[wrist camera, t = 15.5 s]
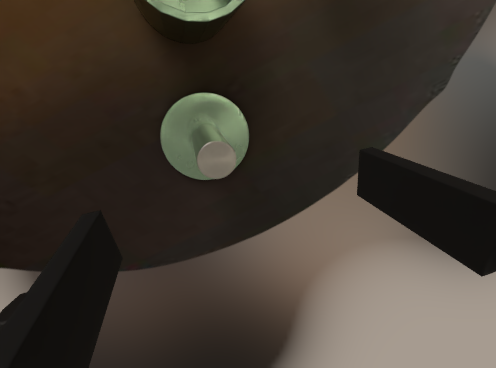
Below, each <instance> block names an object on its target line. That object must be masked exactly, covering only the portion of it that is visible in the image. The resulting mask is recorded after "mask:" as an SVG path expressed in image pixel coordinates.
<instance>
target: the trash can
mask: <svg viewBox="0 0 496 368" xmlns="http://www.w3.org/2000/svg"><path fill="white" fill-rule="evenodd" d="M134 2H135V3H136V5H137V7H138V9H139V11H140V12H141V13H142V15H143V16H144V17H145V19H146V20H147V21H148V22H149V24H150V25H151V26H152V27H153V28H154V29H155V30H157V31H158V32H159V33H161V34H162V35H164V36H165V37H167V38H169V39H171V40H174V41H177V42H180V43H186V44H193V43H199V42H203V41H205V40H207V39H210V38H211V37H213V36H214V35H215V34H216V33H217V32H218V31H220V30H221V29H222V28H223V27H224V25H225V24H226V23H227V22H228V21H229V19H230V18H231V17H232V16H233V15H234V13H235V12H236V11H237V10H238V9H239V8H240V6H241V5H242V4H243V3H244V2H245V0H134Z"/></svg>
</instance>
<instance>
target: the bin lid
mask: <svg viewBox="0 0 496 368" xmlns="http://www.w3.org/2000/svg"><path fill="white" fill-rule="evenodd" d="M160 139H161V146H162V149H163V152H164V154H165V156H166V158H167V159H168V161H169V162H170V163H171V165H172V166H173V167H174V168H175V169H176V170H178V171H179V172H181V173H182V174H184V175H186V176H188V177H191V178H194V179H200V180H210V179H220V178H223V177H226V176H227V175H229V174H230V173H231V172H232V171H233V170H234V169H235V168H236V167H237V166H238V165H239V164H240V162H241V161H242V159H243V158H244V156H245V154H246V151H247V148H248V143H249V130H248V125H247V122H246V120H245V117H244V115H243V114H242V112H241V111H240V110H239V108H238V107H237V106H236V105H235V104H234V103H233V102H231V101H230V100H229V99H227V98H225V97H223V96H220V95H218V94H214V93H208V92H199V93H193V94H190V95H187V96H185V97H183V98H181V99H180V100H178V101H177V102H176V103H175V104H173V105H172V107H171V108H170V109H169V110H168V112H167V113H166V115H165V117H164V120H163V122H162V126H161V132H160Z"/></svg>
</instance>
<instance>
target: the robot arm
mask: <svg viewBox="0 0 496 368" xmlns="http://www.w3.org/2000/svg"><path fill="white" fill-rule="evenodd" d="M357 188H358V189H357V195H358V196H359V197H361V198H363V199H364V200H366V201H367V202H369V203H370V204H372V205H373V206H375V207H376V208H378V209H379V210H381V211H383V212H384V213H386V214H387V215H389V216H390V217H392V218H393V219H395V220H396V221H398V222H399V223H401V224H402V225H404V226H406V227H407V228H408V229H410V230H411V231H413V232H415V233H416V234H418V235H419V236H421V237H422V238H424V239H425V240H427V241H429V242H430V243H431V244H433V245H434V246H436V247H438V248H439V249H441V250H442V251H444V252H445V253H447V254H448V255H450V256H451V257H453V258H454V259H456V260H457V261H459V262H460V263H462V264H463V265H465V266H467V267H468V268H470V269H471V270H473V271H474V272H476V273H477V274H479V275H480V276H485V275H488V274H490V273H493V272H495V271H496V191H494V190H491V189H488V188H485V187H482V186H480V185H477V184H474V183H471V182H468V181H466V180H463V179H460V178H457V177H454V176H451V175H449V174H446V173H443V172H440V171H438V170H435V169H432V168H429V167H426V166H424V165H421V164H418V163H415V162H412V161H410V160H407V159H404V158H401V157H398V156H395V155H393V154H390V153H387V152H384V151H381V150H379V149H376V148H373V147H371V148H367V149H362V150H360V155H359V171H358V187H357ZM121 261H122V256H121V253H120V251H119V249H118V247H117V245H116V243H115V240H114V238H113V236H112V234H111V232H110V230H109V228H108V225H107V223H106V221H105V219H104V217H103V215H102V212H101V210H100V211H96V212H92V213H88V214H83V215H82V216H81V217H80V218H79V220H78V221H77V223H76V224H75V225H74V227H73V228H72V230H71V231H70V233H69V234H68V235H67V237H66V238H65V240H64V241H63V242H62V244H61V245H60V247H59V248H58V250H57V251H56V252H55V254H54V255H53V257H52V258H51V259H50V261H49V262H48V264H47V265H46V267H45V268H44V269H43V271H42V272H41V274H40V275H39V277H38V278H37V280H36V281H35V282H34V284H33V285H32V286H31V288H30V289H29V291H28V292H27V293H23V294H20V295H19V296H18V297H17V298H15V299H14V300H13V301H12V302H11V303H10V304H9V305H8V306H6V307H5V308H4V309H3V310H2V312H1V313H0V368H89V364H90V361H91V358H92V355H93V352H94V348H95V345H96V341H97V338H98V335H99V332H100V329H101V326H102V323H103V319H104V316H105V313H106V310H107V306H108V303H109V300H110V297H111V293H112V290H113V287H114V284H115V281H116V277H117V274H118V271H119V268H120V265H121Z"/></svg>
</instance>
